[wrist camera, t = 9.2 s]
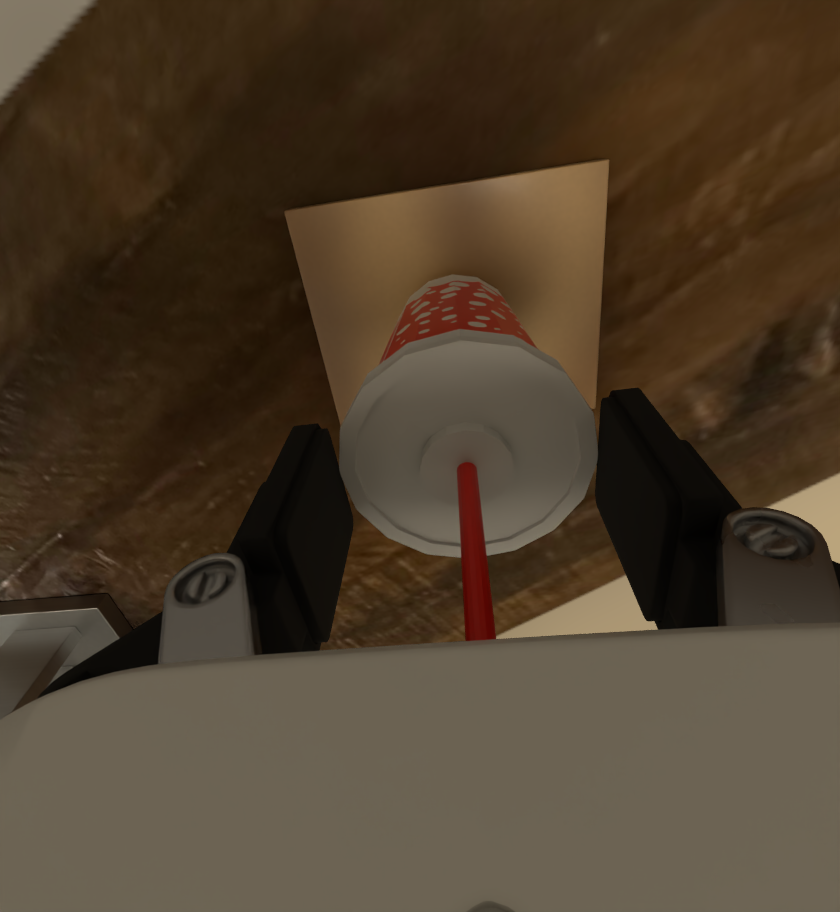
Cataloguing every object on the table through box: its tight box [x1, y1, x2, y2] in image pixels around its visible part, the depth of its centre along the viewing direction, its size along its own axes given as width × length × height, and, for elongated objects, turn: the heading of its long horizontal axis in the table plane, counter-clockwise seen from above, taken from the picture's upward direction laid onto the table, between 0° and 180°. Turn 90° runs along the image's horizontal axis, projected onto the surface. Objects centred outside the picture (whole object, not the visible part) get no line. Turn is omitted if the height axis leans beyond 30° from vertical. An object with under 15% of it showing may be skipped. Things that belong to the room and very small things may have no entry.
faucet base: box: [0, 594, 133, 720], centre depth 29 cm, size 9×8×12 cm
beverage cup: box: [339, 274, 598, 641], centre depth 13 cm, size 6×6×14 cm
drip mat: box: [284, 159, 609, 425], centre depth 21 cm, size 12×10×1 cm
